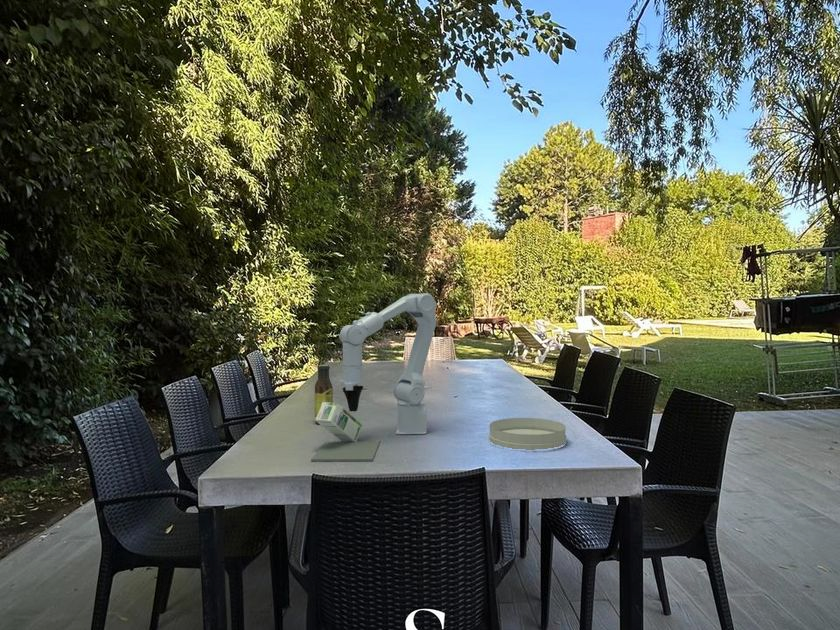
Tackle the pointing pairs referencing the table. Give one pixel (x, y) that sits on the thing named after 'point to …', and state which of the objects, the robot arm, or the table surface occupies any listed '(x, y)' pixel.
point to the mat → (346, 451)
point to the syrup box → (338, 422)
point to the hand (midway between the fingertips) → (353, 410)
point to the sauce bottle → (323, 388)
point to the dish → (527, 433)
